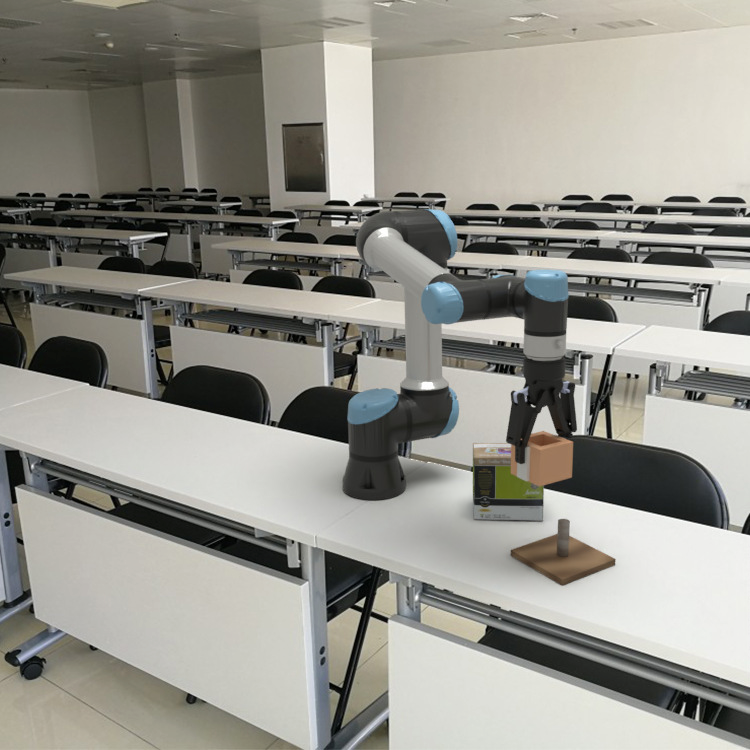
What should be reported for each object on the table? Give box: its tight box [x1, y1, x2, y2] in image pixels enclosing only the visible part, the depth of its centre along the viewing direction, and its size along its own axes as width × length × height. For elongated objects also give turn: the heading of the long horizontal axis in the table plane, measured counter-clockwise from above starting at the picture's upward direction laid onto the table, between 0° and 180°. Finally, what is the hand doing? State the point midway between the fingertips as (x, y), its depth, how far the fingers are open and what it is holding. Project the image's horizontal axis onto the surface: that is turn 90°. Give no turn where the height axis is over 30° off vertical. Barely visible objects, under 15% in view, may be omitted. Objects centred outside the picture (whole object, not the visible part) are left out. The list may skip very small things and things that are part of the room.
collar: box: [511, 430, 574, 486], centre depth 149 cm, size 8×8×7 cm
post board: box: [510, 518, 616, 586], centre depth 154 cm, size 14×14×8 cm
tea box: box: [472, 442, 545, 522], centre depth 175 cm, size 15×10×15 cm
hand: (541, 473), depth 150 cm, fingers closed on collar, 8 cm apart
